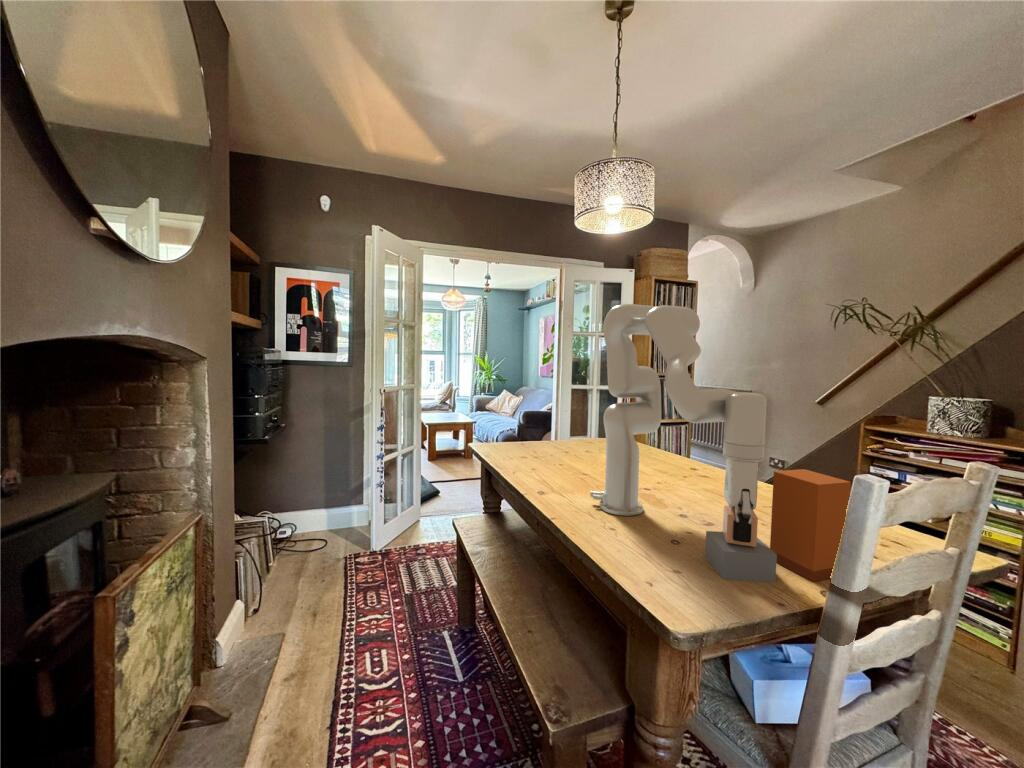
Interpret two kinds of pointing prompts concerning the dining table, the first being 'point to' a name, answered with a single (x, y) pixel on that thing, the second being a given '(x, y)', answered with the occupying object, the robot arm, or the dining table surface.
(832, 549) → the tall orange brick
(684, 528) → the dining table surface
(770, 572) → the charcoal block
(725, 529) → the terracotta block
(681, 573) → the dining table surface
